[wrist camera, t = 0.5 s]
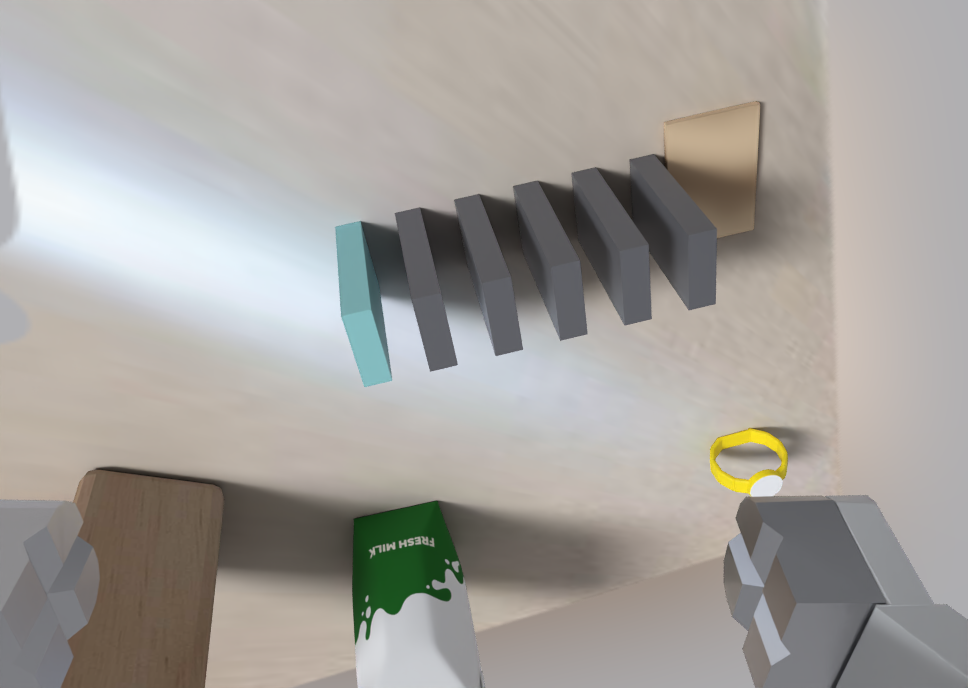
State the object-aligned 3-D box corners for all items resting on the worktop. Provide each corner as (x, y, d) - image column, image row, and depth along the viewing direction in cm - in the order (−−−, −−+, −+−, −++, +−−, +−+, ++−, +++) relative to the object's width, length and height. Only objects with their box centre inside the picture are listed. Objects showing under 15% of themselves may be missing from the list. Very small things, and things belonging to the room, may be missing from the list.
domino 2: (411, 279, 54) (430, 371, 46) (395, 213, 51) (411, 299, 43) (435, 273, 54) (457, 365, 46) (419, 207, 51) (441, 292, 43)
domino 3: (467, 266, 54) (495, 355, 46) (454, 199, 51) (481, 283, 43) (491, 261, 54) (523, 349, 46) (479, 193, 51) (510, 276, 43)
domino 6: (633, 227, 55) (688, 310, 47) (629, 159, 52) (688, 235, 44) (656, 222, 55) (715, 303, 47) (653, 154, 52) (717, 228, 44)
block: (227, 481, 62) (201, 736, 46) (203, 567, 67) (172, 824, 51) (83, 461, 58) (1, 731, 42) (69, 554, 63) (-9, 825, 47)
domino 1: (355, 292, 54) (364, 387, 46) (335, 226, 51) (341, 316, 43) (379, 286, 54) (392, 380, 46) (360, 221, 51) (370, 309, 43)
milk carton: (363, 580, 71) (380, 821, 55) (339, 511, 66) (350, 756, 50) (461, 558, 72) (506, 790, 56) (446, 488, 66) (491, 723, 50)
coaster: (663, 122, 51) (666, 125, 50) (756, 101, 51) (760, 103, 51) (666, 245, 56) (669, 249, 56) (750, 226, 56) (753, 229, 56)
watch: (765, 414, 68) (804, 463, 64) (765, 438, 70) (803, 486, 65) (698, 437, 68) (733, 488, 63) (699, 460, 70) (733, 511, 65)
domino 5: (578, 240, 55) (624, 325, 47) (571, 172, 52) (619, 251, 44) (601, 235, 55) (651, 319, 47) (595, 167, 52) (648, 244, 44)
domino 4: (523, 253, 55) (560, 340, 47) (513, 186, 51) (550, 267, 44) (546, 248, 55) (587, 334, 47) (537, 180, 52) (580, 260, 44)
